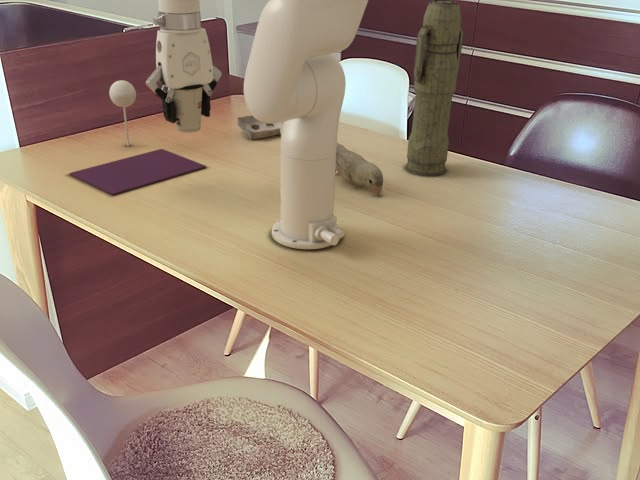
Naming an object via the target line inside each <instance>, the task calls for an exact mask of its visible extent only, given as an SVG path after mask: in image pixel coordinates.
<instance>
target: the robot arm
mask: <svg viewBox="0 0 640 480" xmlns="http://www.w3.org/2000/svg"><path fill="white" fill-rule="evenodd" d="M368 3H369V0H268V1H267V3H266V4H265V6H264V7H263V10H261V13H260V15H259V19H258V22H257V26H256V29H255V33H254V37H253V41H252V45H251V49H250V53H249V57H248V61H247V65H246V69H245V73H244V80H243V99H244V103H245V106H246V109H247V110H248V112H249V114H250V116H253V117H254V118H255V119H257V120H258V121H260V122H263V123H269V124H273V123H280V122H284V126H283V129H282V134H281V135H280V154H279V155H280V157H279V161H280V162H279V165H280V167H279V168H280V172H279V177H280V179H279V181H280V182H279V183H280V184H279V187H280V192H279V194H280V195H279V198H280V200H279V205H280V206H279V209H280V210H279V212H280V213H279V220H278V221H277V222H275V223H274V224H273V225H272V227H271V237H272V239H273V240H274V241H275V242H276V243H278V244H280V245H282V246H285V247H287V248H292V249H297V250H319V249H324V248H328V247H331V246H336V245H337V244H338V243H339V241H340V240H341V239H342V238H343V237H344V236H345V231H344V229H342V228H341V226H340V225H339V224H338V223H337V222H338V221H337V220H338V216H335V214H334V213H335V191H336V172H337V170H336V152H337V143H338V133H339V124H340V123H339V122H340V117H341V112H342V108H343V103H344V99H345V95H346V84H347V83H346V82H347V81H346V75H345V71H344V69H343V66H342V64H341V63H340V61H339V60H338V59H337V58H336V57H335V56H333V54H336V53H339V52H342V51H344V50H346V49H347V48H348V47H350V45H351V44H352V43H353V41H354V40H355V38H356V35H357V33H358V31H359V27H360V24H361V21H362V19H363V16H364V13H365V11H366V8H367V6H368ZM157 7H158V8H157V9H158V12H157V16H155V17H153V18H152V21H153V25H154V26H158V27H159V29H158V30H157V34H156V42H155V67H156V68H155V69H154V70H153V72H152V73H151V74H150V75H149V76H148V78H147V79H146V81H145V85H146V86H147V87H148V89H150V90H151V91H152V93H153V94H154V95H155V96H157V98H159V100H161V101H162V113H163V114H162V115H163V118H164V119H165V121H167V122H168V123H171V124H176V112H175V103H174V102H172V98H173V95H174V92H175V89H179V88H183V87H185V86H191V85H198V84H201V85H203V87H202V105H201V116H203V117H206V118H210V117H211V108H212V107H211V96H212V95H213V91H214V90H215V88H216V87H217V85H218V82H219V80H220V78H222V75H223V73H222V70H220V69H218V68H217V66H215V65H214V64H213V58H212V52H211V47H210V41H209V37H208V34H207V30H206V28H204V27H202V18H201V2H200V0H157ZM158 84H160V85H162V86H161V88H160V87H159V85H158ZM335 171H336V172H335Z"/></svg>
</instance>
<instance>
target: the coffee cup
mask: <svg viewBox="0 0 640 480" xmlns="http://www.w3.org/2000/svg"><path fill="white" fill-rule="evenodd" d="M202 87H203V85H201V84H198V85H191V86H185V87H183V88H179V89H175V92H174V95H173V98H172V102H174V103H175V112H176V122H175V126H176V131H177V132H179V133H183V134H184V133H186V134H188V133H189V134H190V133H191V134H192V133H198V132H199V131H201V125H202V124H201V123H202V115H201V105H202Z"/></svg>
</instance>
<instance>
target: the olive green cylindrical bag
mask: <svg viewBox="0 0 640 480" xmlns="http://www.w3.org/2000/svg"><path fill="white" fill-rule="evenodd" d="M460 7H461V6H460V3H458V2H457V1H456V0H432V1H429V2H428V5H427V7H426V9H425V12H424V15H423V21H422V26H421V27H420V29H419V31H418V33H417V35H416V46H415V55H414V64H413V65H414V66H413V81H414V84H413V91H414V93H415V94H414V103H413V104H414V106H413V115H412V126H411V133H410V135H409V137H408V141H407V150H406V151H407V152H406V158H407V163H406V168H405V169H406V170H407V172H409V173H411V174H414V175H418V176H425V177H434V176H440V175H443V174H444V173H445V171H446V163H447V161H448V153H449V145H450V139H449V136H448V134H449V125H450V117H451V109H452V103H453V102H452V101H453V97H454V94H455V92H456V89H457V87H456V86H457V80H458V73H459V72H460V64H461V56H462V49H463V41H464V33H465V31H464V29H463V26H462V25H461V24H462V12H461V8H460Z"/></svg>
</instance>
